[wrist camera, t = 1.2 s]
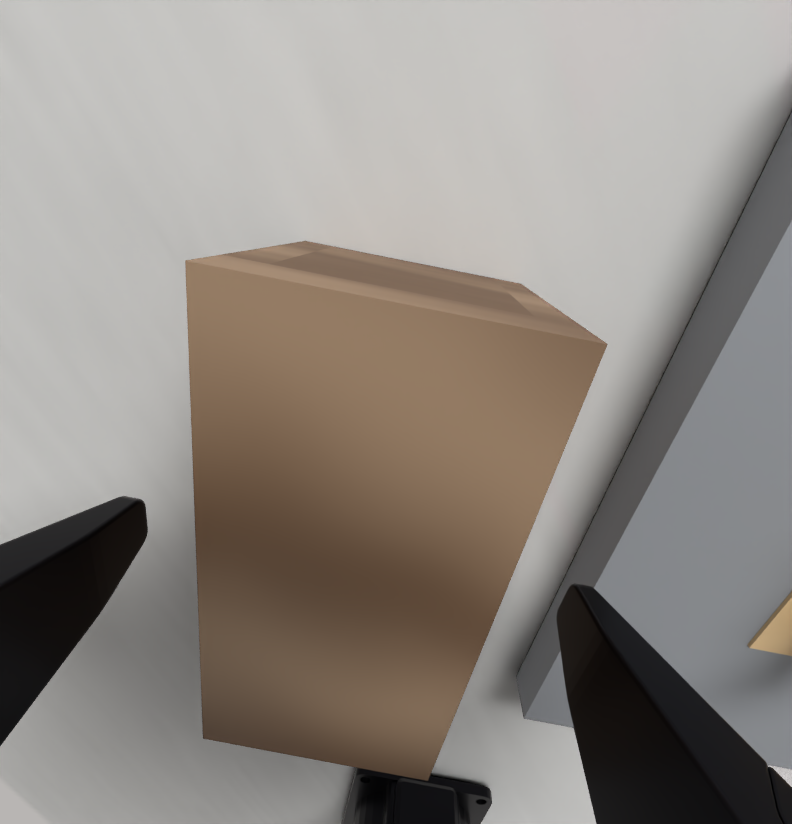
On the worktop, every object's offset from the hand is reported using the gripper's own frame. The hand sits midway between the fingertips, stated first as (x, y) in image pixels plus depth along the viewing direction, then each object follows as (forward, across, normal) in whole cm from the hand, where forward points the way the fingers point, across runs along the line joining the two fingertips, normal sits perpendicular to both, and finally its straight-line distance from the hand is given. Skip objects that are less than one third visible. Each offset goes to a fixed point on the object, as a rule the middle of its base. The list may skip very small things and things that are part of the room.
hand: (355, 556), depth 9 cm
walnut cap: (+4, 0, 0) cm, 4 cm away
